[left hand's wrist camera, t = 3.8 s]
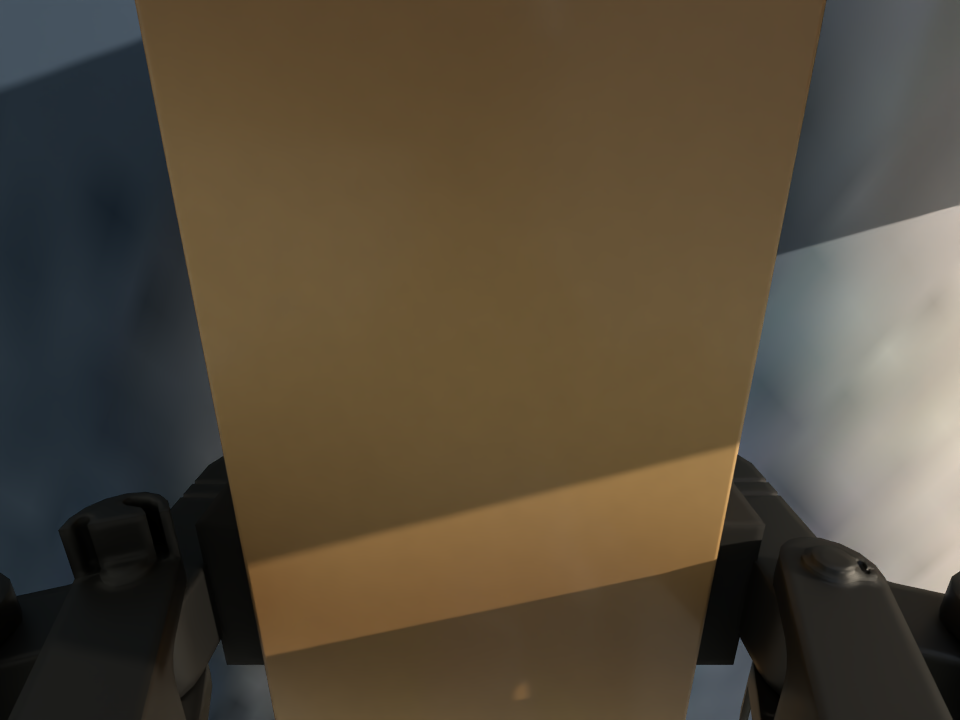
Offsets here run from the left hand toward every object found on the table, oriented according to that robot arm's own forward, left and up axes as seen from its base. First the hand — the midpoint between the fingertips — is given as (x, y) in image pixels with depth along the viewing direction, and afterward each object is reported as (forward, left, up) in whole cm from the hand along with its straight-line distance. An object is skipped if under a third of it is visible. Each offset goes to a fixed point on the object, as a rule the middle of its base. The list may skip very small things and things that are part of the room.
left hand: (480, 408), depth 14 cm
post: (+16, +7, 0) cm, 18 cm away
